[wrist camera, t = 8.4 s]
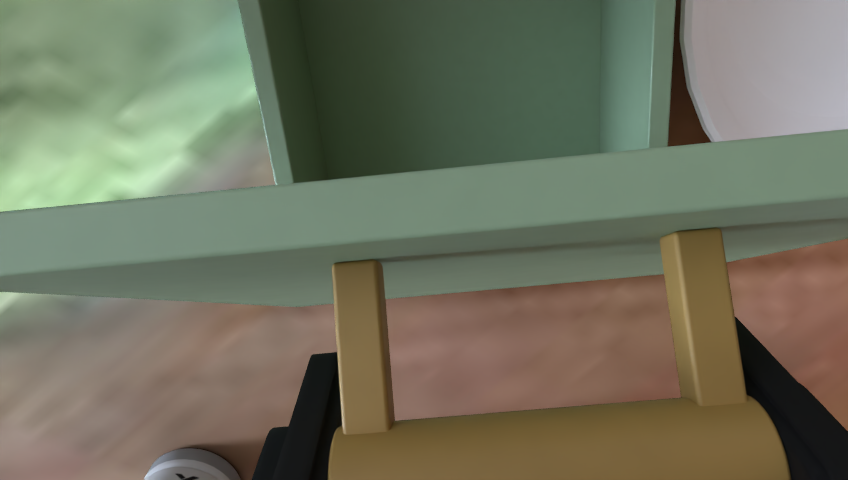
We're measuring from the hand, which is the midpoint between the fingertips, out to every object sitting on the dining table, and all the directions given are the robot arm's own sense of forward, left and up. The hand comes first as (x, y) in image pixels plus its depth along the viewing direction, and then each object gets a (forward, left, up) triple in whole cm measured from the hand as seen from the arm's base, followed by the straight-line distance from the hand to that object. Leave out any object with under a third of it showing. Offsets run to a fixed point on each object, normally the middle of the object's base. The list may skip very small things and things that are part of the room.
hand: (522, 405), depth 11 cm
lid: (0, +1, -6) cm, 6 cm away
